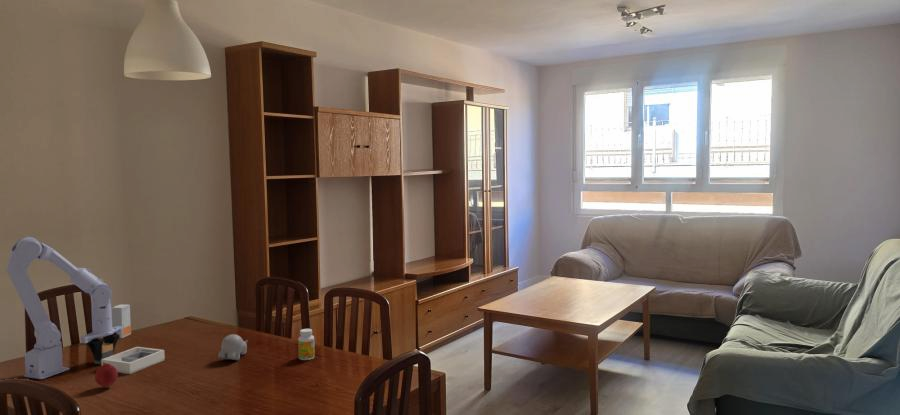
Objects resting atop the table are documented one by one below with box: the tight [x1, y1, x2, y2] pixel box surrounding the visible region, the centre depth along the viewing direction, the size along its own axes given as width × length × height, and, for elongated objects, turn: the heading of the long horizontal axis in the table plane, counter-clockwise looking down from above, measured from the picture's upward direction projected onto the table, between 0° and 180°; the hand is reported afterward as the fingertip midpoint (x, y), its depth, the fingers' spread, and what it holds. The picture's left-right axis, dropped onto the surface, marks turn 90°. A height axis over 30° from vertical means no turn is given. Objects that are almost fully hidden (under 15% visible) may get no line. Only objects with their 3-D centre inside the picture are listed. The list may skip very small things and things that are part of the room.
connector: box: [93, 342, 114, 366], centre depth 196 cm, size 4×4×6 cm
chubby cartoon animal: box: [217, 333, 248, 361], centre depth 200 cm, size 7×12×8 cm, turn 162°
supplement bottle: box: [297, 328, 316, 361], centre depth 199 cm, size 5×5×10 cm
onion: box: [94, 362, 119, 389], centre depth 173 cm, size 6×6×8 cm
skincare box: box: [111, 303, 132, 339], centre depth 226 cm, size 6×4×12 cm
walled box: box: [100, 346, 166, 375], centre depth 193 cm, size 14×12×4 cm
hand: (103, 358), depth 196 cm, fingers closed on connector, 4 cm apart
